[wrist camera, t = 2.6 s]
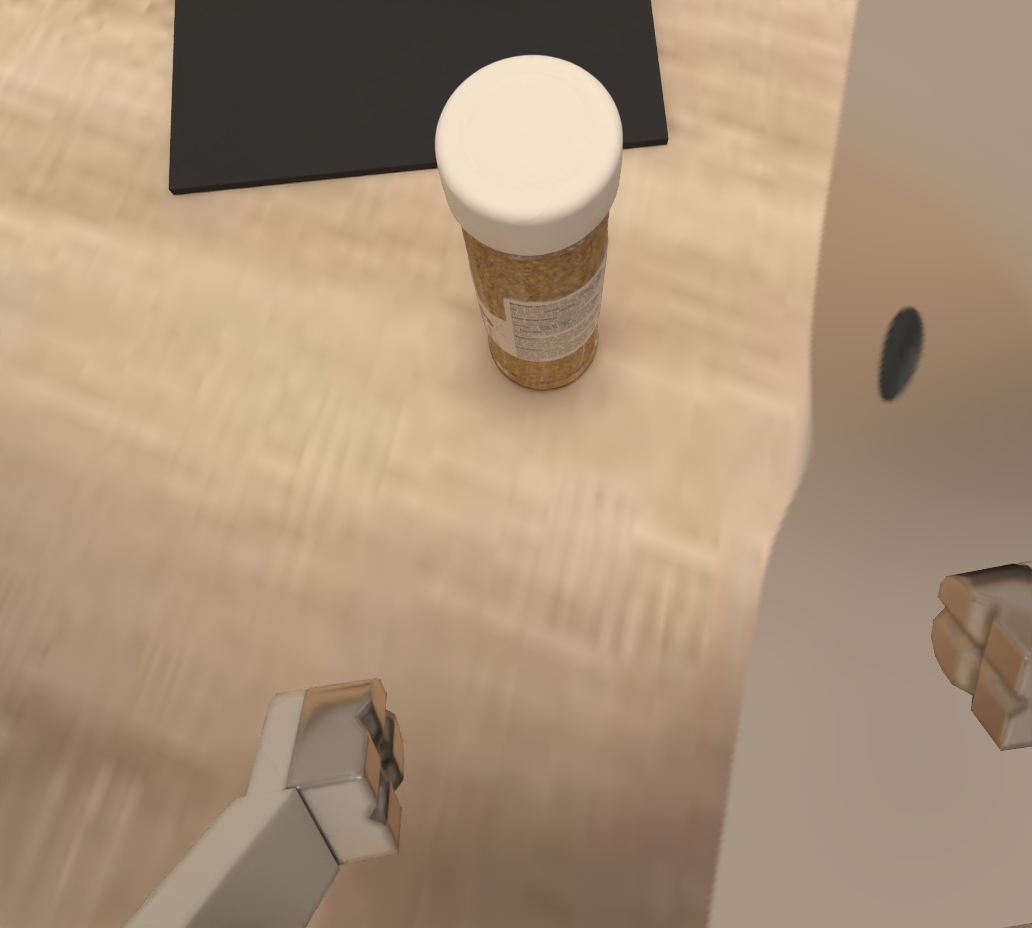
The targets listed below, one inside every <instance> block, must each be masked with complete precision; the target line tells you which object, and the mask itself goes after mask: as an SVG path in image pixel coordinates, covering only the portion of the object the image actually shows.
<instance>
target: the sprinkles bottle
mask: <svg viewBox="0 0 1032 928" xmlns="http://www.w3.org/2000/svg"><path fill="white" fill-rule="evenodd" d="M622 149H623V132H622V124H621V120H620V116H619V113H618V109H617V107H616V105H615V103H614V101H613V99H612V98H611V96H610V94H609V93H608V92H607V90H606V89H605V88H604V86H603V85H602V84H601V83H600V82H599V81H598V80H597V79H596V78H595V77H593V76H592V75H591V74H590V73H588V72H587V71H585V70H584V69H582V68H581V67H579V66H577V65H575V64H573V63H571V62H568V61H565V60H562V59H559V58H554V57H550V56H542V55H523V56H516V57H511V58H507V59H503V60H500V61H497V62H494V63H492V64H490V65H487V66H485V67H483V68H481V69H479V70H478V71H477V72H475V73H474V74H472V75H471V76H469V77H468V78H467V79H466V80H465V81H464V82H463V83H462V84H461V85H460V86H459V87H458V88H457V89H456V90H455V91H454V93H453V94H452V95H451V97H450V98H449V100H448V101H447V103H446V105H445V107H444V109H443V111H442V113H441V116H440V119H439V121H438V125H437V130H436V136H435V153H436V160H437V166H438V170H439V174H440V178H441V182H442V185H443V189H444V192H445V195H446V199H447V202H448V205H449V207H450V209H451V211H452V213H453V215H454V217H455V218H456V220H457V221H458V222H459V224H460V225H461V228H462V232H463V236H464V240H465V244H466V248H467V252H468V259H469V265H470V271H471V275H472V279H473V283H474V286H475V290H476V294H477V298H478V302H479V306H480V310H481V313H482V317H483V321H484V324H485V327H486V329H487V331H488V339H489V347H490V351H491V354H492V356H493V359H494V360H495V363H496V364H497V366H498V367H499V369H500V370H501V371H502V372H503V373H504V374H505V375H506V376H507V377H508V378H510V379H511V380H513V381H515V382H517V383H519V384H521V385H523V386H527V387H530V388H535V389H540V390H544V389H549V388H556V387H560V386H563V385H566V384H568V383H570V382H572V381H573V380H575V379H576V378H578V377H579V376H581V375H582V373H583V372H584V371H585V370H586V369H587V367H588V366H589V365H590V363H591V361H592V359H593V357H594V355H595V353H596V349H597V344H598V330H597V322H598V318H599V314H600V306H601V298H602V291H603V283H604V274H605V266H606V257H607V249H608V230H607V228H608V217H609V209H610V208H611V206H612V204H613V201H614V199H615V197H616V193H617V190H618V186H619V179H620V172H621V163H622Z"/></svg>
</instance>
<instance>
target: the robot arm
mask: <svg viewBox="0 0 1032 928" xmlns="http://www.w3.org/2000/svg"><path fill="white" fill-rule="evenodd" d="M938 598H939V599H940V601H941V602H942V603H943V604H944V606H945V608H944V609H943V610H942V611H941V612H940V613H939V614H938V615H937V617H936V618H935V619H934V620H933V626H932V634H931V639H932V644H933V649H934V653H935V657H936V659H937V661H938V663H939V665H940V667H941V669H942V671H943V672H944V674H945V675H946V676H947V678H948V679H949V681H950V682H951V684H952V685H954V686H956V687H958V688H960V689H962V690H964V691H965V692H968V693H969V694H971V695H973V698H972V706H971V711H972V712H973V714H974V715H975V716H976V718H977V719H978V720H979V722H980V723H981V725H982V726H983V727H984V729H985V730H986V731H987V733H988V734H989V735H990V737H991V738H992V739H993V741H994V742H995V743H996V745H997V746H998V748H999V749H1000V750H1001V751H1003V750H1010V749H1017V748H1024V747H1030V746H1032V561H1027V562H1021V563H1018V564H1009V565H1004V566H999V567H993V568H988V569H982V570H978V571H972V572H967V573H961V574H956V575H951V576H946V578H945V579H944V580H943V581H942V583H941V584H940V588H939V593H938ZM386 699H387V693H386V691H385V689H384V687H383V684H382V682H381V680H380V679H376V678H374V679H368V680H361V681H354V682H348V683H341V684H335V685H328V686H321V687H315V688H310V689H305V690H299V691H292V692H286V693H279V694H276V695H275V696H274V698H273V699H272V701H271V702H270V704H269V706H268V710H267V714H266V718H265V721H264V725H263V729H262V733H261V737H260V741H259V744H258V748H257V752H256V756H255V760H254V764H253V767H252V771H251V775H250V779H249V783H248V787H247V790H246V794H245V796H244V797H239V798H235V799H234V800H233V801H232V802H231V803H230V804H229V805H228V807H227V808H226V809H225V810H224V811H223V812H222V813H221V815H220V816H219V817H218V818H217V819H216V820H215V821H214V823H213V824H212V825H211V826H210V827H209V828H208V829H207V831H206V832H205V833H204V834H203V835H202V836H201V837H200V838H199V840H198V841H197V842H196V843H195V844H194V845H193V846H192V848H191V849H190V850H189V851H188V852H187V853H186V854H185V856H184V857H183V858H182V859H181V860H180V861H179V862H178V864H177V865H176V866H175V867H174V868H173V869H172V870H171V872H170V873H169V874H168V875H167V876H166V877H165V878H164V880H163V881H162V882H161V883H160V884H159V885H158V886H157V888H156V889H155V890H154V891H153V892H152V893H151V894H150V895H149V897H148V898H147V899H146V900H145V901H144V902H143V903H142V905H141V906H140V907H139V908H138V909H137V910H136V911H135V913H134V914H133V915H132V916H131V917H130V918H129V919H128V921H127V922H126V923H125V924H124V925H123V926H122V927H121V928H305V927H306V926H307V924H308V922H309V921H310V919H311V917H312V915H313V914H314V912H315V910H316V909H317V907H318V905H319V904H320V902H321V900H322V898H323V897H324V895H325V893H326V892H327V890H328V888H329V887H330V885H331V883H332V881H333V880H334V878H335V876H336V875H337V873H338V871H339V870H340V869H339V866H338V865H343V864H348V863H353V862H358V861H363V860H368V859H373V858H378V857H383V856H388V855H393V854H398V853H399V841H400V826H401V811H402V808H401V806H400V803H399V801H398V798H397V796H396V794H395V791H396V789H397V788H398V786H399V785H400V784H401V782H402V781H403V777H404V752H403V740H402V736H401V732H400V727H399V724H398V721H397V719H396V716H395V714H393V713H392V712H390V711H388V710H386ZM1006 928H1032V923H1030V924H1024V925H1018V926H1012V927H1006Z"/></svg>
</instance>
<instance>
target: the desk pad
mask: <svg viewBox="0 0 1032 928" xmlns="http://www.w3.org/2000/svg"><path fill="white" fill-rule="evenodd" d="M523 55H542V56H550V57H554V58H559V59H562V60H565V61H568V62H571V63H573V64H575V65H577V66H579V67H581V68H582V69H584V70H585V71H587V72H588V73H590V74H591V75H592V76H593V77H595V78H596V79H597V80H598V81H599V82H600V83H601V84H602V85H603V86H604V88H605V89H606V90H607V92H608V93H609V94H610V96H611V98H612V99H613V101H614V103H615V105H616V107H617V109H618V113H619V116H620V120H621V124H622V132H623V148H629V147H639V146H649V145H659V144H667V142H668V132H667V124H666V116H665V109H664V101H663V93H662V85H661V77H660V69H659V62H658V54H657V46H656V38H655V30H654V23H653V15H652V7H651V0H175V21H174V50H173V80H172V109H171V139H170V168H169V190H170V191H171V193H172V194H181V193H190V192H200V191H210V190H220V189H229V188H239V187H249V186H259V185H268V184H278V183H288V182H298V181H307V180H317V179H327V178H337V177H346V176H356V175H366V174H376V173H385V172H395V171H405V170H415V169H425V168H434V167H438V166H437V160H436V153H435V136H436V130H437V125H438V121H439V119H440V116H441V113H442V111H443V109H444V107H445V105H446V103H447V101H448V100H449V98H450V97H451V95H452V94H453V93H454V91H455V90H456V89H457V88H458V87H459V86H460V85H461V84H462V83H463V82H464V81H465V80H466V79H467V78H468V77H469V76H471V75H472V74H474V73H475V72H477V71H478V70H479V69H481V68H483V67H485V66H487V65H490V64H492V63H494V62H497V61H500V60H503V59H507V58H511V57H516V56H523Z"/></svg>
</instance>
